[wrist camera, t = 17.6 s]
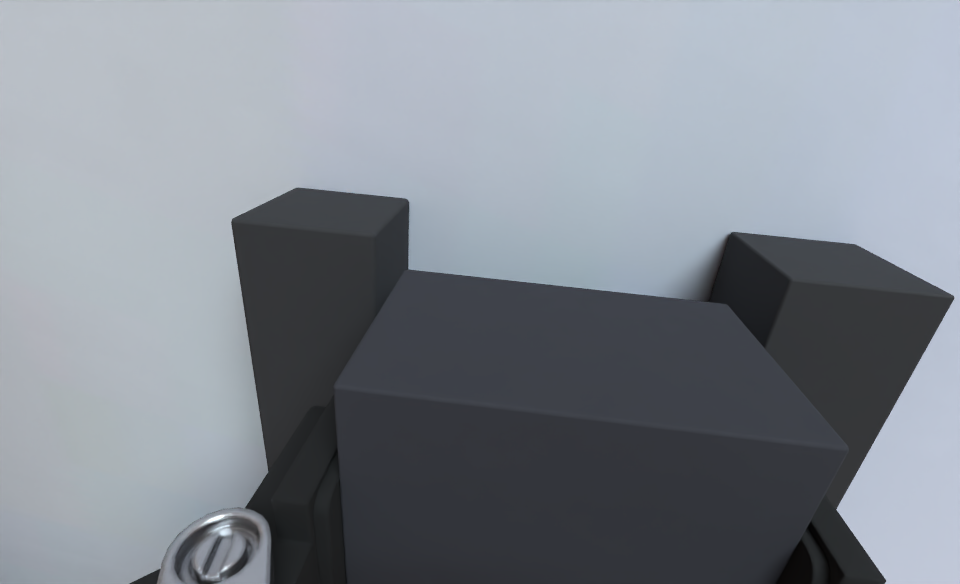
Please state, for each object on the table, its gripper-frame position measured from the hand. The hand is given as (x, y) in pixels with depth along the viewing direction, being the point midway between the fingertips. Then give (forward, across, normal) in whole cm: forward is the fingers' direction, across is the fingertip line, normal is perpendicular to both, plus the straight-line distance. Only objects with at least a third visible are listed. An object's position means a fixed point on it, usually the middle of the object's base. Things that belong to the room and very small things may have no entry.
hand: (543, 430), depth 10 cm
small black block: (+1, 0, 0) cm, 1 cm away
